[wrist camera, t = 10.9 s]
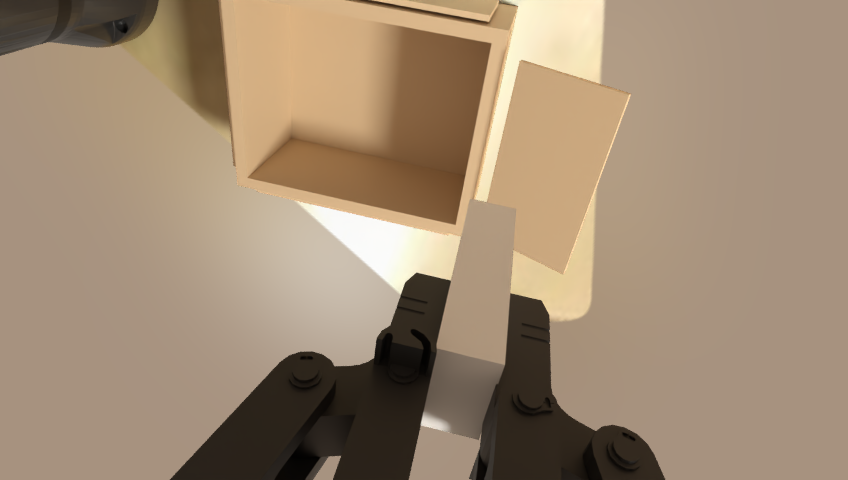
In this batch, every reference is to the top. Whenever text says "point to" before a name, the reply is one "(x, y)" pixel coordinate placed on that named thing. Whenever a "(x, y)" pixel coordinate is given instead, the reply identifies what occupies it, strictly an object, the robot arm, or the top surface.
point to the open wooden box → (366, 102)
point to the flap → (553, 158)
